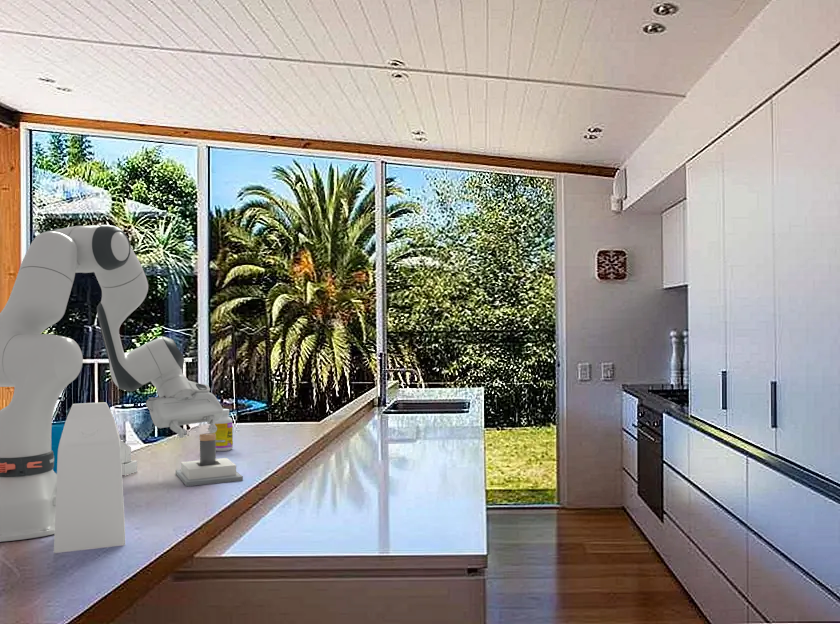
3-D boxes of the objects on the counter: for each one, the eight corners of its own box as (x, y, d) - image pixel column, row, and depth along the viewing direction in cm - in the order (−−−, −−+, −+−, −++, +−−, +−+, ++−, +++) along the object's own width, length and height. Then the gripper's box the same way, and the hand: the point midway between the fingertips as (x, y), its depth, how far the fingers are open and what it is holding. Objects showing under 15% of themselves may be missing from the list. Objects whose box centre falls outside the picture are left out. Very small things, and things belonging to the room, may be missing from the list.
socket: (242, 480, 198) (242, 466, 199) (186, 486, 192) (186, 472, 192) (227, 468, 215) (227, 455, 215) (175, 473, 209) (175, 460, 209)
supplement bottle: (229, 451, 242) (229, 410, 242) (208, 451, 242) (208, 410, 242) (235, 448, 249) (234, 408, 249) (214, 448, 249) (214, 408, 249)
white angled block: (103, 469, 203) (112, 438, 207) (122, 482, 211) (131, 451, 215) (115, 470, 202) (124, 438, 206) (134, 482, 210) (143, 451, 215)
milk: (125, 529, 153) (123, 398, 154) (125, 545, 143) (123, 404, 143) (58, 536, 149) (56, 402, 149) (53, 553, 138) (51, 408, 139)
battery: (217, 472, 202) (217, 434, 203) (201, 474, 201) (201, 436, 201) (214, 470, 206) (213, 432, 206) (198, 471, 204) (198, 434, 204)
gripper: (147, 390, 203) (169, 430, 197) (213, 384, 219) (235, 421, 212) (138, 406, 206) (159, 446, 199) (203, 399, 221) (225, 436, 215)
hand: (199, 433), depth 206 cm, fingers open, 8 cm apart
